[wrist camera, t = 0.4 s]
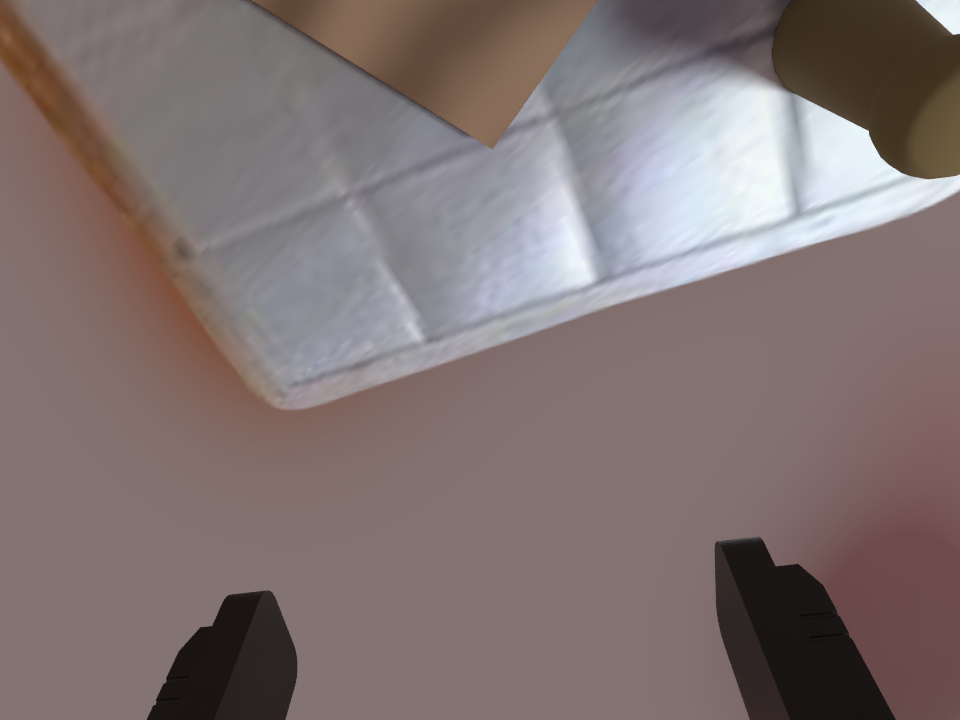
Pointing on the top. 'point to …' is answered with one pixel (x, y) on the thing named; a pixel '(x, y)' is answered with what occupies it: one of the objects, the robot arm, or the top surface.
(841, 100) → the cork
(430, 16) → the holder
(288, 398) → the top surface
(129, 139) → the top surface
